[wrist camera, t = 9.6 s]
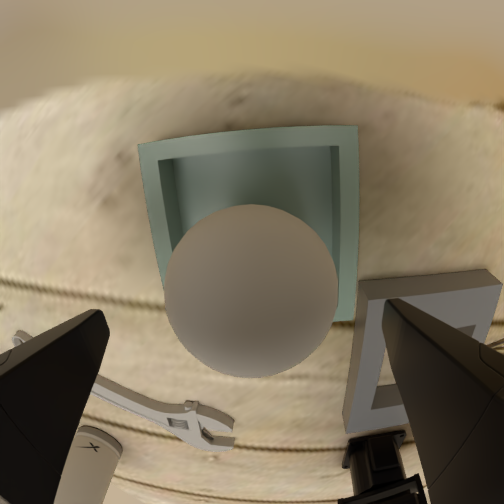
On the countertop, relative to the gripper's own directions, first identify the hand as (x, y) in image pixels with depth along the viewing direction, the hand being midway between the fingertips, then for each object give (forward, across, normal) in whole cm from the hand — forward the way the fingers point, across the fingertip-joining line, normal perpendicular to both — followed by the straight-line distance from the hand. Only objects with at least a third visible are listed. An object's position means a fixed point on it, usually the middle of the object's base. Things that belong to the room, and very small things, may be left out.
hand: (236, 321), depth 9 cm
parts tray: (+11, 0, 0) cm, 11 cm away
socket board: (+11, -12, +12) cm, 20 cm away
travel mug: (+11, +22, +27) cm, 36 cm away
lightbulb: (+10, 0, 0) cm, 10 cm away
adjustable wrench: (+11, +14, +15) cm, 24 cm away
